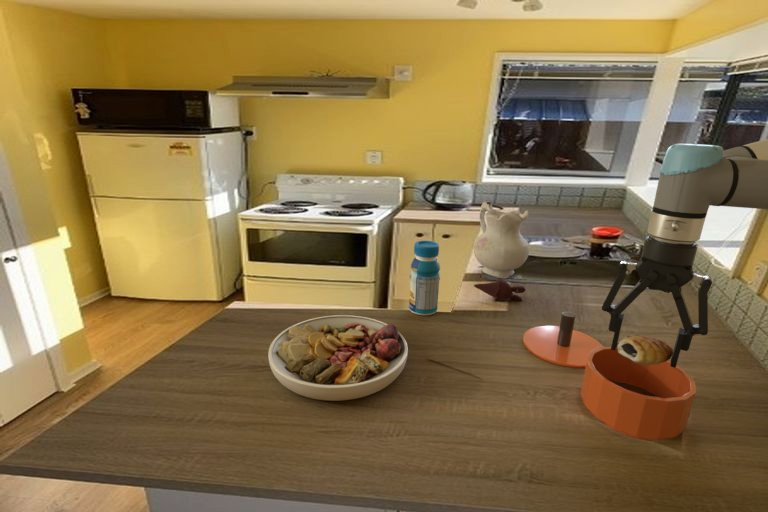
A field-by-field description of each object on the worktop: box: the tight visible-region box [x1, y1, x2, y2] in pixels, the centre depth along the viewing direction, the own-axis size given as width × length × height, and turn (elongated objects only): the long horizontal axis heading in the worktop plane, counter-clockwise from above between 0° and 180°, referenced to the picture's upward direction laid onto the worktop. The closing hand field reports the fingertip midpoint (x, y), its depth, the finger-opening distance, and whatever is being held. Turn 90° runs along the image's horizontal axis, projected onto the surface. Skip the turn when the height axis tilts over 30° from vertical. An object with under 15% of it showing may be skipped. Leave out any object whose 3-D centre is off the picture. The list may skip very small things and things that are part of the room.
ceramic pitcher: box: [473, 199, 531, 279], centre depth 151 cm, size 22×20×25 cm
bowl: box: [267, 314, 409, 402], centre depth 93 cm, size 30×30×8 cm
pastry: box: [616, 334, 674, 366], centre depth 78 cm, size 9×7×4 cm
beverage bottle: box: [408, 240, 441, 316], centre depth 119 cm, size 8×8×20 cm
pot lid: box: [522, 311, 604, 369], centre depth 102 cm, size 19×19×9 cm
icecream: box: [473, 278, 526, 302], centre depth 129 cm, size 7×7×15 cm
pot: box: [579, 346, 697, 442], centre depth 81 cm, size 18×18×8 cm
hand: (642, 355), depth 79 cm, fingers closed on pastry, 9 cm apart
